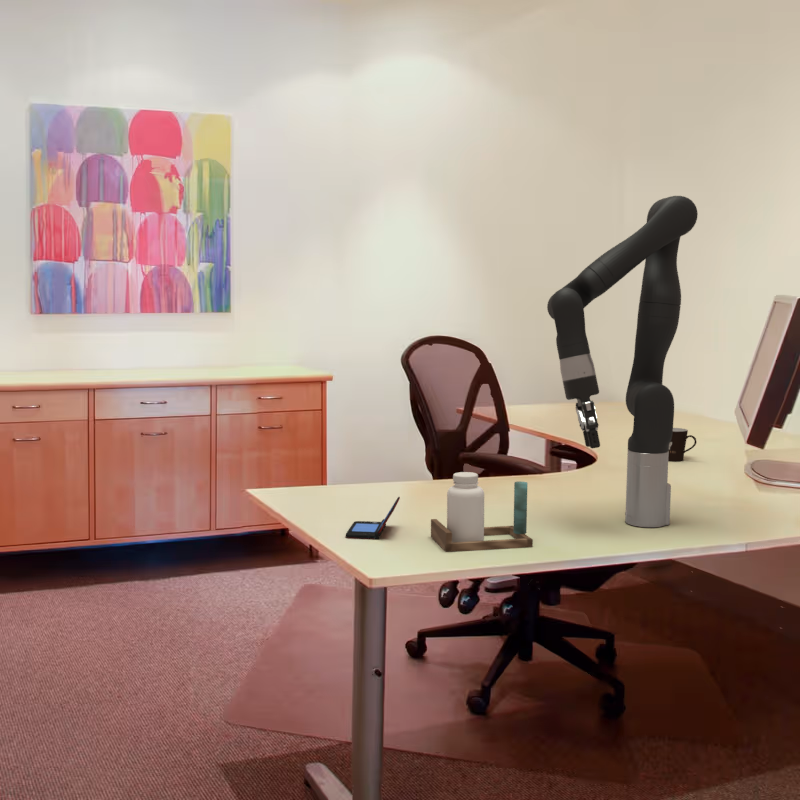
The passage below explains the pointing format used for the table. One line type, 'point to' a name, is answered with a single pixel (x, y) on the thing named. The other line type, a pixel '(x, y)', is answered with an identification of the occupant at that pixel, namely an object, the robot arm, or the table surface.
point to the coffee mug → (678, 445)
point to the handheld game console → (369, 527)
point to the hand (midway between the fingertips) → (593, 447)
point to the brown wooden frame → (491, 529)
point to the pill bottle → (465, 508)
